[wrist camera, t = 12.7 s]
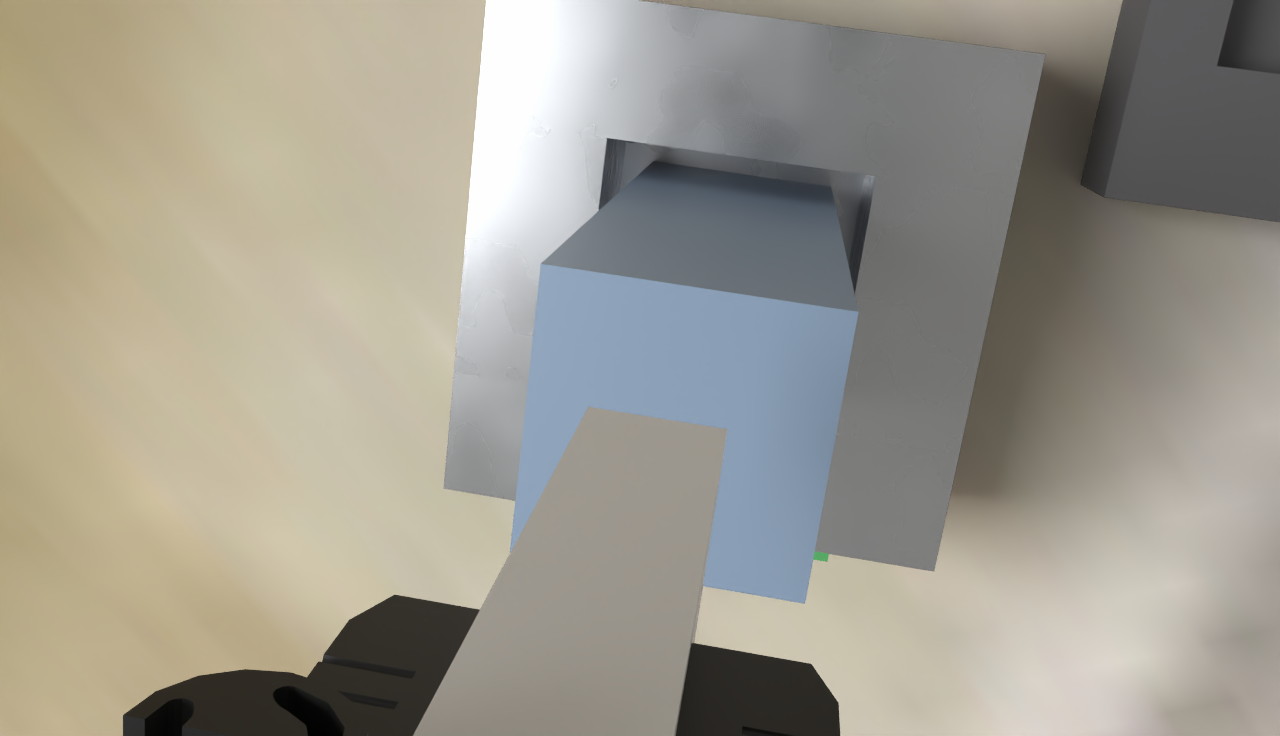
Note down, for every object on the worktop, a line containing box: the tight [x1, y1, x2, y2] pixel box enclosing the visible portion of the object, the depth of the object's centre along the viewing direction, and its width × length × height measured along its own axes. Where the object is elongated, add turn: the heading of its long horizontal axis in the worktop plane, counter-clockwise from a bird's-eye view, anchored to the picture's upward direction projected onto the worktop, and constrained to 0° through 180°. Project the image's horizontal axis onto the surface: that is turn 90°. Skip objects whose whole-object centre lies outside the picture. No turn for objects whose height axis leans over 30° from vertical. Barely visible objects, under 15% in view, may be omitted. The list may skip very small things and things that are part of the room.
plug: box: [510, 161, 858, 604], centre depth 24 cm, size 4×4×14 cm
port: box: [444, 0, 1045, 571], centre depth 30 cm, size 13×12×5 cm
